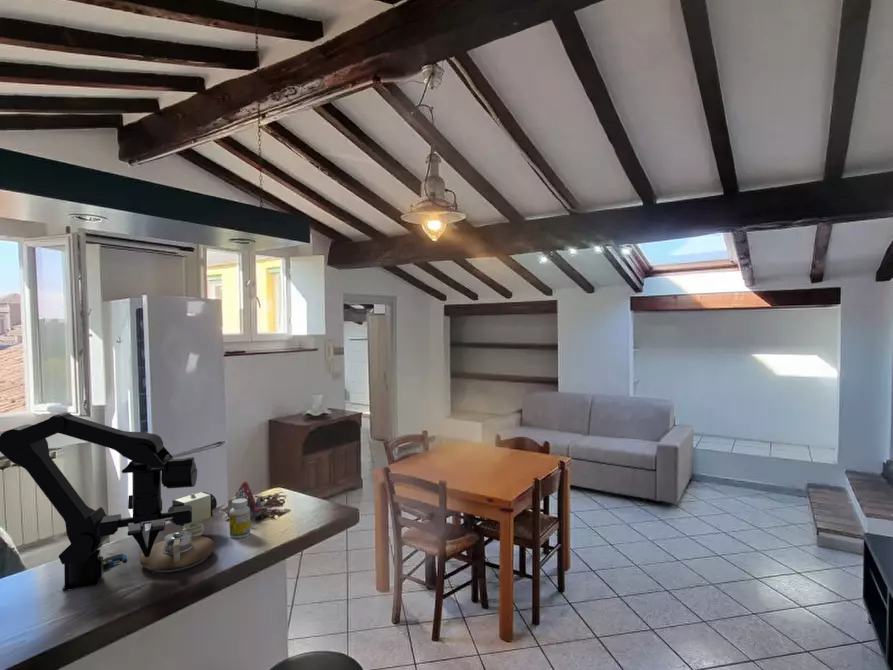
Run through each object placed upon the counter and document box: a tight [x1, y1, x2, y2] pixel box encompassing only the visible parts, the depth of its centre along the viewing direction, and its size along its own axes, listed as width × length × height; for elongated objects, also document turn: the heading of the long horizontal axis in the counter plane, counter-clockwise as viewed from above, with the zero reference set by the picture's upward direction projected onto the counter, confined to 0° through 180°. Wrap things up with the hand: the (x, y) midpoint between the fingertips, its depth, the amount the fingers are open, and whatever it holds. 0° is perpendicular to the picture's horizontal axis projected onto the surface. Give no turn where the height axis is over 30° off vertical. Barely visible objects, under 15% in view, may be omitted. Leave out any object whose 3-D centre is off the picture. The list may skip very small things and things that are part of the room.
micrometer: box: [103, 553, 128, 570], centre depth 123 cm, size 12×2×5 cm
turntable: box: [139, 536, 214, 570], centre depth 126 cm, size 16×16×5 cm
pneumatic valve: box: [167, 491, 218, 536], centre depth 141 cm, size 6×12×12 cm, turn 148°
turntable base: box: [145, 555, 210, 575], centre depth 126 cm, size 14×14×1 cm
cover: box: [163, 530, 193, 555], centre depth 127 cm, size 7×7×4 cm
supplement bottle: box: [228, 499, 251, 539], centre depth 142 cm, size 5×5×10 cm
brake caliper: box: [220, 480, 263, 521], centre depth 155 cm, size 11×11×12 cm
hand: (147, 556), depth 119 cm, fingers closed
